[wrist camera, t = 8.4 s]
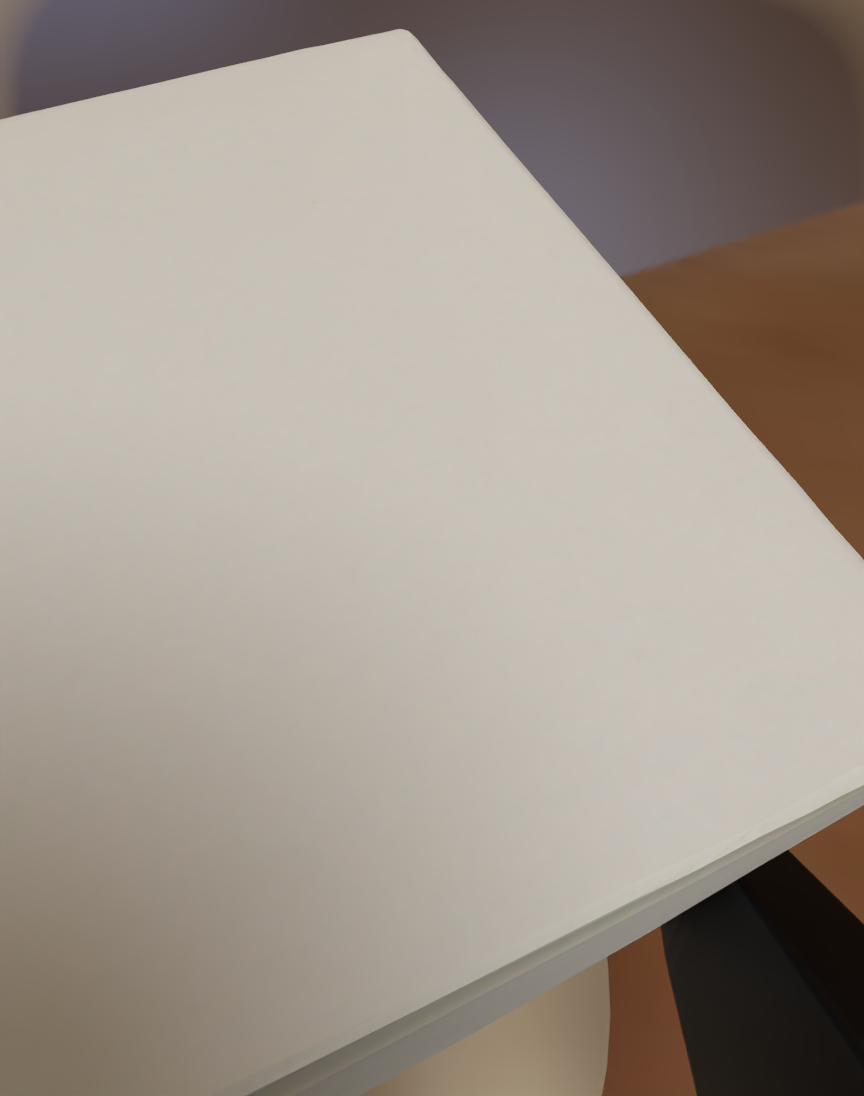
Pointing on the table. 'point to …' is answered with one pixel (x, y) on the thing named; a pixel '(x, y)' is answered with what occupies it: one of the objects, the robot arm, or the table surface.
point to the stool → (525, 1049)
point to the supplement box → (364, 591)
